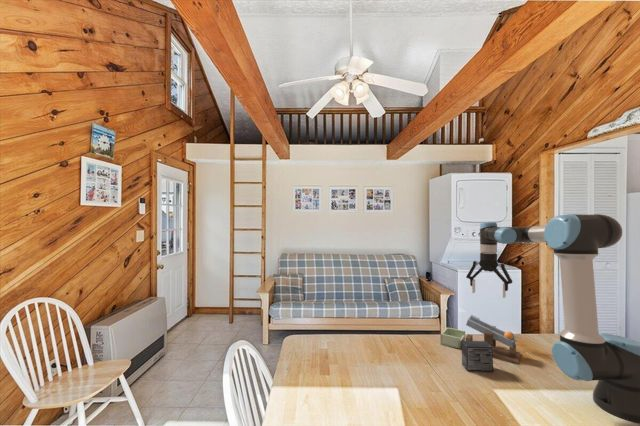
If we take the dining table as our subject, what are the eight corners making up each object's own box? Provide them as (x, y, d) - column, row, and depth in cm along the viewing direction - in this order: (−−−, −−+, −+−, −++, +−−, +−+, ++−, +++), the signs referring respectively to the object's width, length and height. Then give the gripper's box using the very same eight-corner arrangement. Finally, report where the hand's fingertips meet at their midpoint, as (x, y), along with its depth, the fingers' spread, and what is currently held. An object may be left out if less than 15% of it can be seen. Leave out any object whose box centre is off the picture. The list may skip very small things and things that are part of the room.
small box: (486, 364, 131) (486, 340, 131) (493, 372, 124) (493, 347, 124) (461, 363, 132) (461, 339, 132) (466, 371, 125) (466, 346, 125)
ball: (512, 343, 135) (514, 335, 135) (502, 339, 138) (504, 331, 137) (513, 340, 138) (515, 332, 138) (503, 336, 141) (505, 328, 140)
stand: (518, 363, 131) (518, 339, 131) (461, 349, 145) (460, 327, 145) (520, 354, 140) (520, 331, 140) (466, 341, 154) (466, 320, 154)
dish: (460, 349, 145) (459, 338, 145) (440, 344, 151) (440, 333, 151) (465, 341, 154) (465, 331, 154) (446, 337, 160) (446, 327, 160)
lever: (512, 348, 134) (516, 340, 133) (464, 324, 146) (467, 316, 145) (515, 338, 145) (518, 330, 144) (470, 316, 157) (473, 309, 156)
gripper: (518, 253, 148) (519, 297, 148) (463, 249, 164) (464, 289, 164) (516, 255, 142) (516, 301, 142) (460, 251, 158) (460, 292, 158)
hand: (488, 294), depth 153 cm, fingers open, 13 cm apart
